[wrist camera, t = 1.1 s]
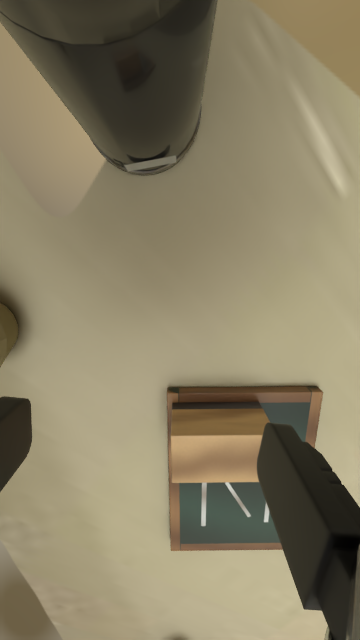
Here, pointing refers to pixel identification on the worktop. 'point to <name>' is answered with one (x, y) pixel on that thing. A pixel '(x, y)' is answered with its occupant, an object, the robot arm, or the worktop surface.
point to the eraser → (216, 441)
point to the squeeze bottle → (7, 332)
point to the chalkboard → (235, 497)
